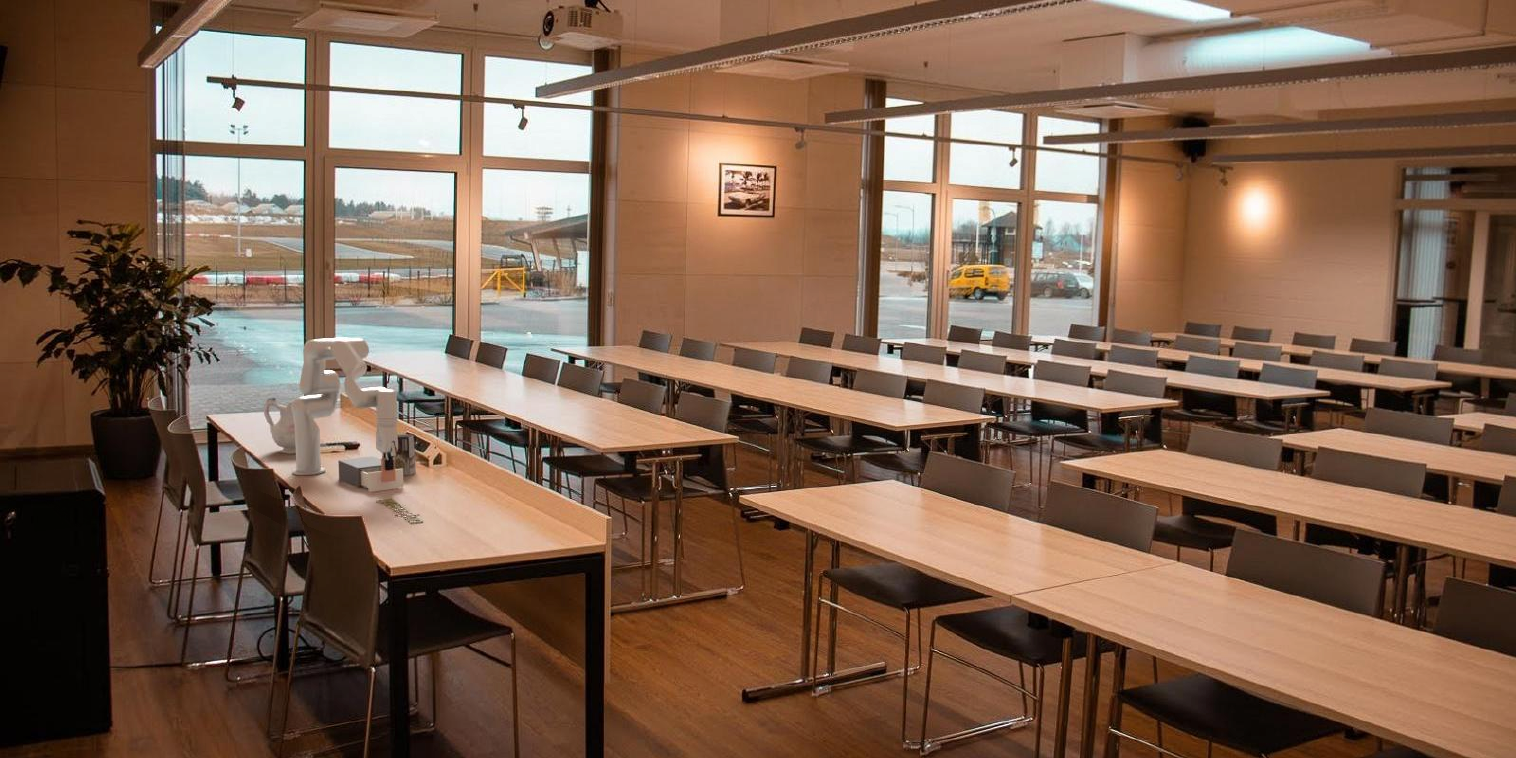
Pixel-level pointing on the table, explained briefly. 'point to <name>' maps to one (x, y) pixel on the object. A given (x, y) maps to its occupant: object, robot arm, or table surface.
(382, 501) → the text sign
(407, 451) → the coffee box
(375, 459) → the low grey box
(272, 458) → the table surface
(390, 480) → the box with pink tab
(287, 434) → the ceramic pitcher
